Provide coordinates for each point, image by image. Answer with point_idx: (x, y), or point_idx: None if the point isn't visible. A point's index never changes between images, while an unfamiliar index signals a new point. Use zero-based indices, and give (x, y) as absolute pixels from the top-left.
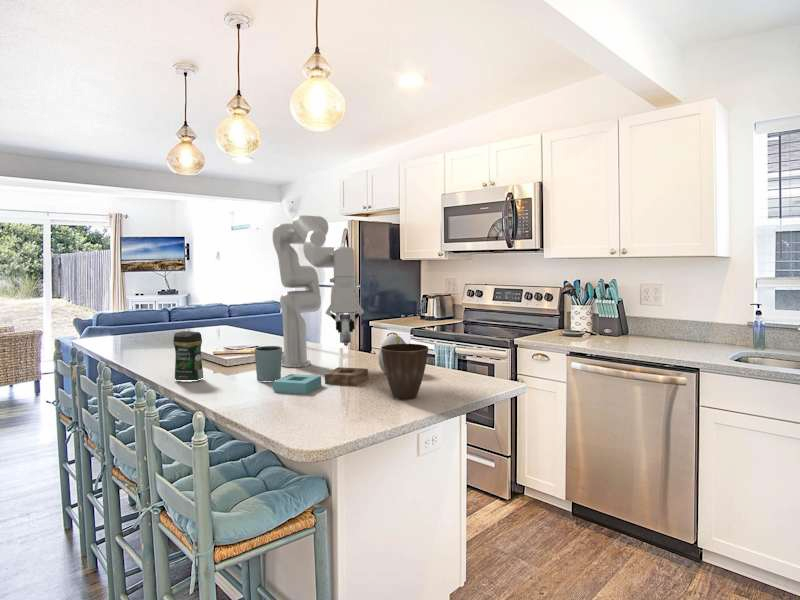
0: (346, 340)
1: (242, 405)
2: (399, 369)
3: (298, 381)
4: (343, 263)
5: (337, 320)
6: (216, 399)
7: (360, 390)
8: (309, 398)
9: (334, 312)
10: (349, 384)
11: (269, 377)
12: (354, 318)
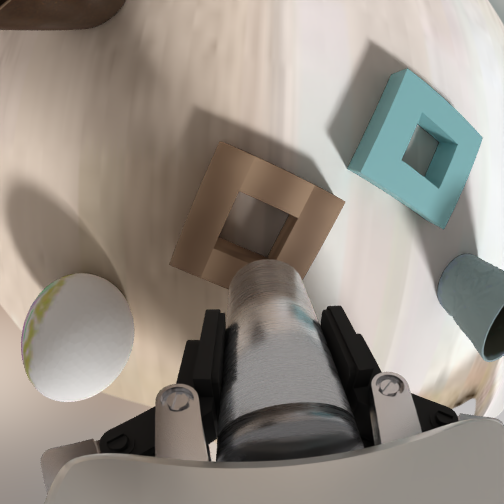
0: (263, 266)
1: (491, 49)
2: None
3: (428, 106)
4: None
5: (378, 387)
6: None
7: (213, 68)
8: (375, 25)
9: (474, 420)
10: (247, 152)
11: (471, 257)
12: (165, 410)
